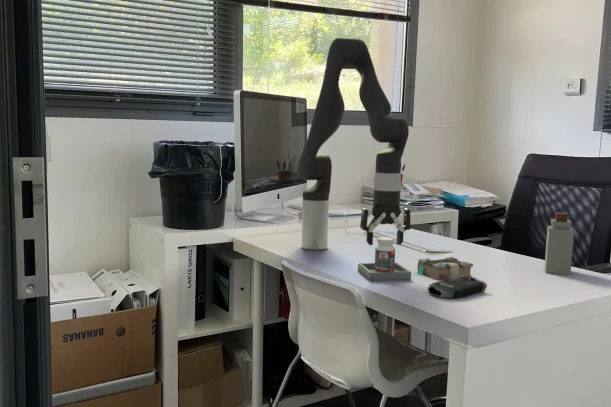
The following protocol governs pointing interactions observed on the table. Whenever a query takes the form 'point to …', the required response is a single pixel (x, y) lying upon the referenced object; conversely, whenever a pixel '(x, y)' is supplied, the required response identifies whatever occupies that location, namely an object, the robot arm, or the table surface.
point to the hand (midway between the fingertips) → (384, 244)
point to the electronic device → (457, 287)
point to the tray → (383, 273)
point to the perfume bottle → (559, 245)
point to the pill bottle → (385, 255)
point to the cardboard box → (444, 268)
